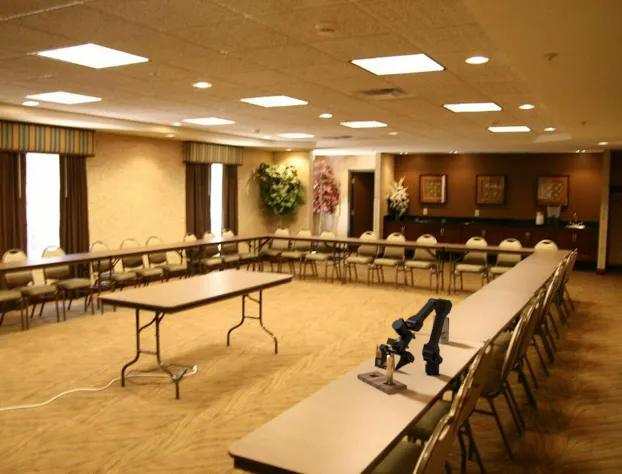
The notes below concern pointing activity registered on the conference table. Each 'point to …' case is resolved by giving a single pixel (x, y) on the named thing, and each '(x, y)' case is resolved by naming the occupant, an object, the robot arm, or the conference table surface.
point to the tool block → (381, 382)
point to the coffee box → (444, 331)
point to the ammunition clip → (378, 359)
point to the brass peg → (389, 370)
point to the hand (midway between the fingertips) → (387, 367)
